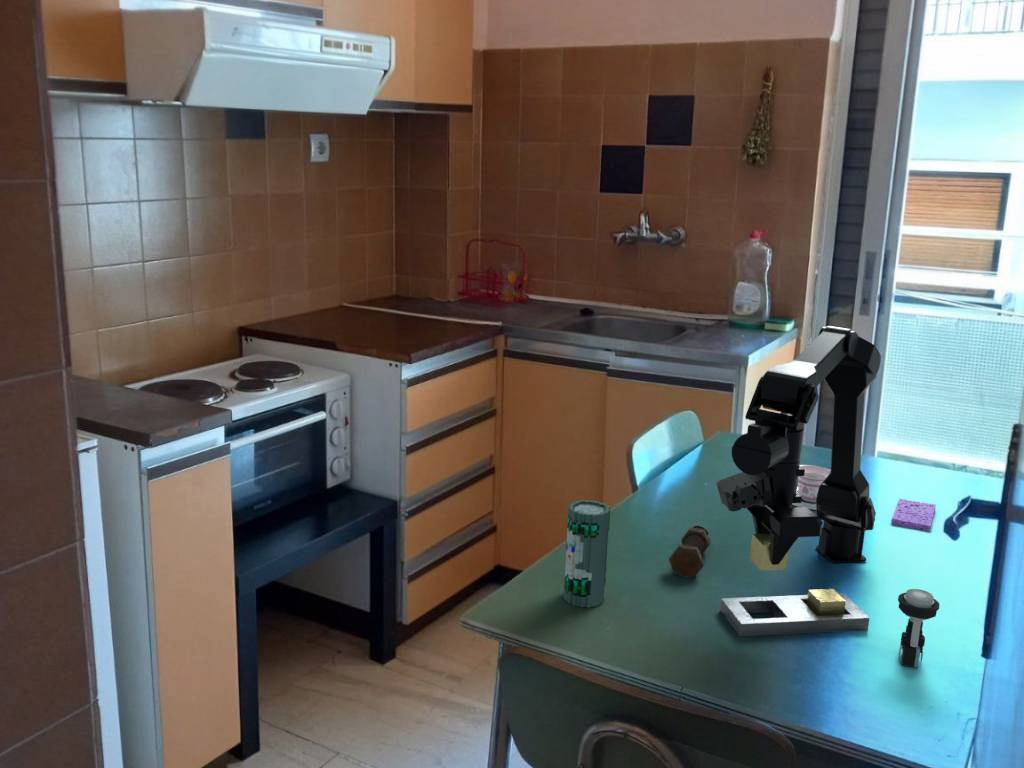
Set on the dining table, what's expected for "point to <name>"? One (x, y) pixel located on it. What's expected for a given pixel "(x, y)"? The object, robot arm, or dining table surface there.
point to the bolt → (690, 552)
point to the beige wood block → (764, 553)
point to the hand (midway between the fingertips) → (768, 557)
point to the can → (586, 553)
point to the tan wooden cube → (825, 602)
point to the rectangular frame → (789, 616)
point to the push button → (915, 623)
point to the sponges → (914, 514)
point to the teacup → (810, 484)
